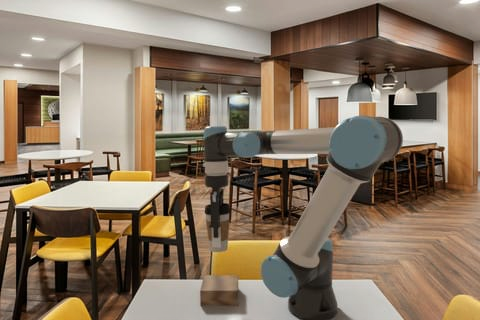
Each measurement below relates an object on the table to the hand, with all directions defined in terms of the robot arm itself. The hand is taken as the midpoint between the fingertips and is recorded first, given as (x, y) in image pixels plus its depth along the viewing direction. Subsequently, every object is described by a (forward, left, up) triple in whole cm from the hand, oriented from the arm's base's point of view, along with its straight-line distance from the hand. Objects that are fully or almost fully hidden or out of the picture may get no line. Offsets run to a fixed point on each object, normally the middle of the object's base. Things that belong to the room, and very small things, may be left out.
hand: (218, 242), depth 123 cm
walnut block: (0, 0, -19) cm, 19 cm away
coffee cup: (0, 0, -2) cm, 2 cm away
